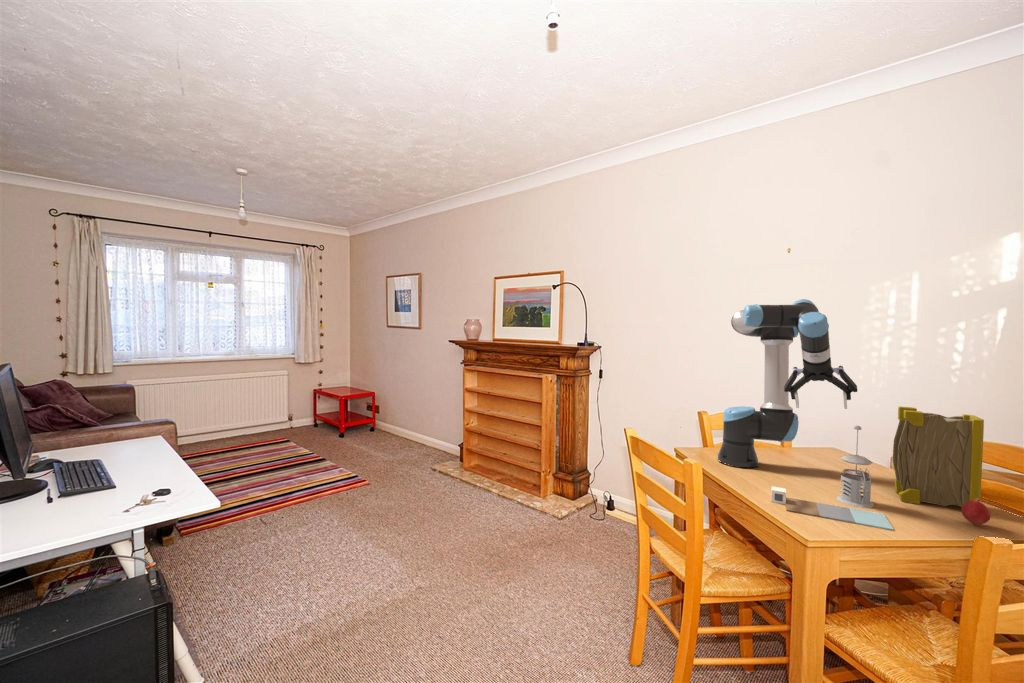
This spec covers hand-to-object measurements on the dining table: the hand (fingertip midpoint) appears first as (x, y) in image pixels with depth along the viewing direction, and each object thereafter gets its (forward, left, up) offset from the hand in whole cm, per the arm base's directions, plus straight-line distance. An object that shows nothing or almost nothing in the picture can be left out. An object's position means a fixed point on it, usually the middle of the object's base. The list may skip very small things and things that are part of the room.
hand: (820, 405), depth 154 cm
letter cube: (-12, -18, -30) cm, 37 cm away
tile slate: (+3, -20, -30) cm, 36 cm away
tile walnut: (-6, -20, -30) cm, 36 cm away
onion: (+37, -9, -30) cm, 48 cm away
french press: (+10, -6, -30) cm, 32 cm away
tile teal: (+11, -20, -30) cm, 38 cm away
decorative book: (+32, +8, -30) cm, 45 cm away
